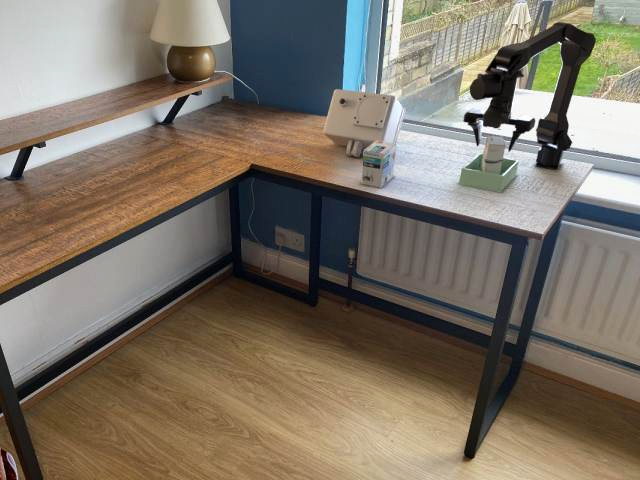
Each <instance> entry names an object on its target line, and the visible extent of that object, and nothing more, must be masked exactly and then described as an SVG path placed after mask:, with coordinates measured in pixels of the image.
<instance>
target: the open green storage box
mask: <svg viewBox="0 0 640 480" xmlns="http://www.w3.org/2000/svg"><path fill="white" fill-rule="evenodd" d="M482 159H483V153H480V152H479V153H477V155H475V156H474V157H473V158H472V159H470V160H469V161H468V162H467V163H466V164H465V165H463V167H461V169H460V176H459V182H458V184H459V185H463V186H468V187H472V188H477V189H480V190H481V189H482V190H487V191H491V192H496V193H501V192H502V191H503V190H504V189H505V188H506V187H507V186H508V185H509V184H510V183H511V181H513V180H514V178H516V176H517V172H518V168H519V163H520V160H519V159H514V158H508V157H503V160H502V166H501V171H500V175H497V174H492V173H487V172H482V171H480V169H481V164H482Z"/></svg>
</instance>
